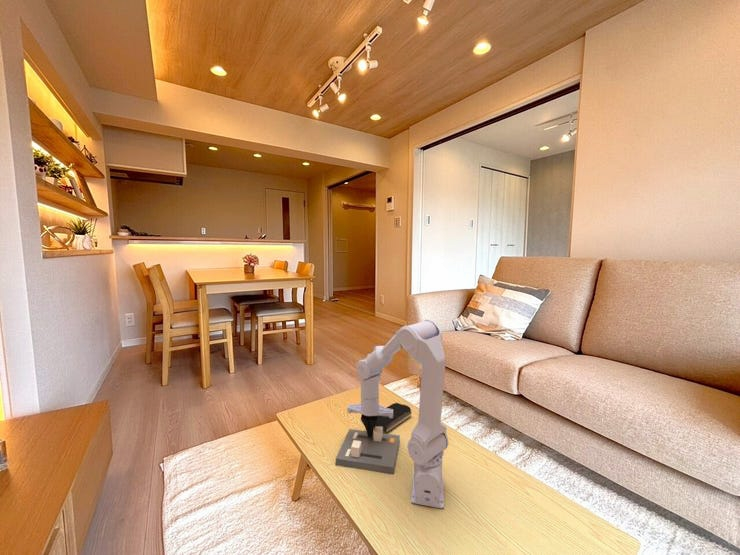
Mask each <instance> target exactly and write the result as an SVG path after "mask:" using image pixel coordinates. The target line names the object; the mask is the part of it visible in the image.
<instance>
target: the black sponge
mask: <svg viewBox="0 0 740 555" xmlns="http://www.w3.org/2000/svg"><path fill="white" fill-rule="evenodd" d="M386 408H389V409H393V418H389V417H387V416H378V419H377V422H376V424H375V426H378V427H383V433H385V434H387V433H388V432H389V431H391V430H393V429H394V428H395V427H397V426H399V425H400V424H401V423H403V422H404V421H406V420H407V419H409V418H410V417H411V415H412V409H411V407H410V406H408V405H407V404H401V403H399V402H394V403H391V404H390V405H388V406H386ZM375 426H374V429H375Z"/></svg>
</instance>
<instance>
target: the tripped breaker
mask: <svg viewBox="0 0 740 555" xmlns="http://www.w3.org/2000/svg"><path fill="white" fill-rule="evenodd" d="M373 433H374V441H379V442H381V440H382V437H383V433H384V432H383V427H378V426H375V428H374V430H373Z"/></svg>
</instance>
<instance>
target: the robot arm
mask: <svg viewBox="0 0 740 555" xmlns="http://www.w3.org/2000/svg"><path fill="white" fill-rule="evenodd" d="M442 339H443V331H442V330H441V328H440V327H439V326H438V325H437V324H436V322H435V321H433V320H431V319H425V320H423V321H420V322H416V323H413V324H409V325H404V326H402V327H400V329H398V330H396V331H395V334H394V335H393V336H392V337H391V339H389V341H388V342H387V343H386V344H385V345H377V346H374V347H373V351H372V352H371V353H368V354H367V355H366V357H365V359H360V360H358V362H357V363H356V366H355V367H356V368H355V369H356V373H357V375H358V377H359V379H360V403H356V404H348V405H347V410H346V412H347V414H353V413H354V414H360V416H361V417H360V421H361V423H362V424H363V426H364V428H365V431H367V435H368V437H372V436H373V432H374V429H375V428H374V426H375V424H376V422H377V419H378V416H387V417H389V418H393V409H389V408H387V406H383V405H380V393H379V392H380V382H379V381H380V379H381V374H382V373H383V370H384V368H385V367H387V366H388V365H389V364H390V363H392V361H393V359H394V358H393V355H395V354H396V353H397V352H399V351H400V350H402V349H403V350H405V352H406V353H407V354H408V355H409V356H410V357H411V358H412V359H413V360H415V361H416V362H417V363H420V364H421V377H420V391H419V404H418V405H419V406H418V407H419V408H418V420H417V421H418V422H417V423H416V425H415V426H414V428H413V429H412V431H411V434H410V435H411V436H410V439H409V440H408V442H407V451H408V454H409V457H410V458H411V460H412V461H413V475H412V483H411V484H412V486H411V494H410V495H411V496H410V502H411V503H412V504H416V505H422V506H426V507H433V508H438V509H444V508H445V502H444V501H445V499H444V498H445V496H444V495H445V493H444V492H445V490H444V477H443V456H444V452H445V450H446V449H447V448H449V438H448V436H447V435H448V434H447V426H446V425H445V424H444V423H443V422H442V421H441V420H442V412H443V411H442V409H443V397H444V384H445V374H446V372H445V371H446V355H445V350H444V347H443V342H442V341H443V340H442Z"/></svg>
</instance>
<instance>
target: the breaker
mask: <svg viewBox="0 0 740 555" xmlns="http://www.w3.org/2000/svg"><path fill="white" fill-rule="evenodd" d="M361 451H362V441H356V440H354V441H353V443H352V446H351V456H352V457H360V454H361Z"/></svg>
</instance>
